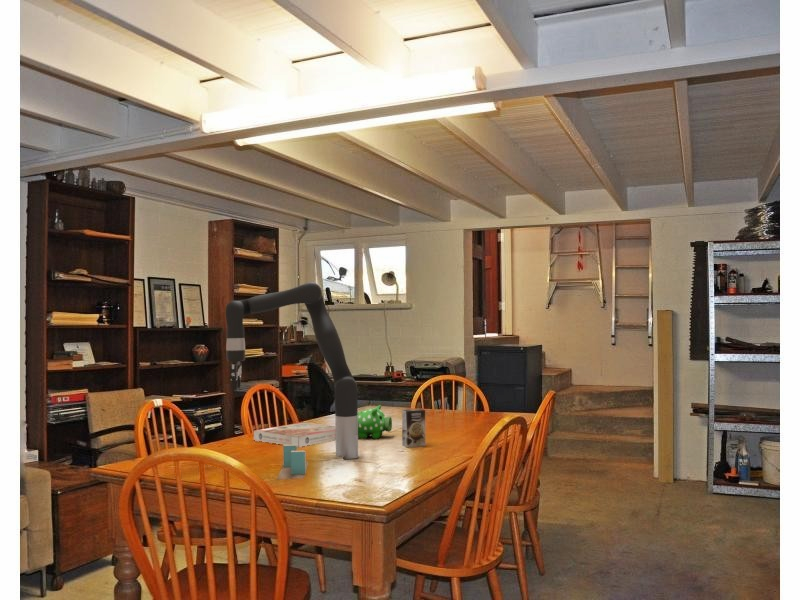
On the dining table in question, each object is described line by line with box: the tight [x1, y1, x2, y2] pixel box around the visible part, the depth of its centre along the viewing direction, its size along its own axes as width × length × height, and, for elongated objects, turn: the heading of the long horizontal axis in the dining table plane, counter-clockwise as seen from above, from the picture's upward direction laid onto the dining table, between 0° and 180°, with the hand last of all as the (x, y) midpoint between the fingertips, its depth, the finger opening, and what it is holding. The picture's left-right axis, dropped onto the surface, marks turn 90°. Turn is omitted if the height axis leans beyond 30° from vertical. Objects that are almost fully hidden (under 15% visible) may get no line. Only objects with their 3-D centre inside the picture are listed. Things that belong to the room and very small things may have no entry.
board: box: [276, 461, 310, 480], centre depth 251 cm, size 10×28×1 cm, turn 4°
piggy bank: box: [358, 404, 393, 440], centre depth 328 cm, size 14×18×15 cm
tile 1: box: [282, 444, 298, 467], centre depth 258 cm, size 5×2×8 cm, turn 94°
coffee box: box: [401, 408, 426, 448], centre depth 304 cm, size 9×6×16 cm
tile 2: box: [291, 449, 307, 475], centre depth 245 cm, size 5×2×8 cm, turn 94°
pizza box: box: [253, 422, 336, 448], centre depth 326 cm, size 32×5×32 cm
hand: (236, 388), depth 277 cm, fingers open, 8 cm apart
